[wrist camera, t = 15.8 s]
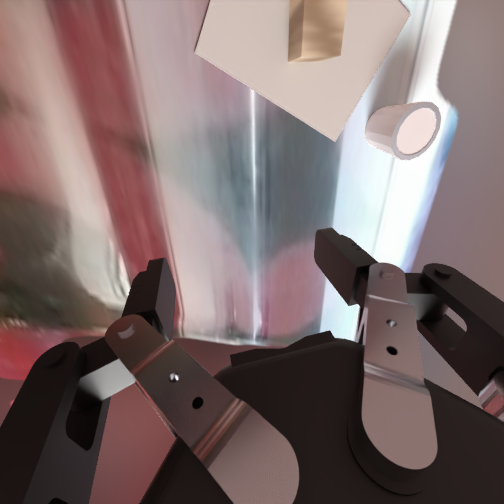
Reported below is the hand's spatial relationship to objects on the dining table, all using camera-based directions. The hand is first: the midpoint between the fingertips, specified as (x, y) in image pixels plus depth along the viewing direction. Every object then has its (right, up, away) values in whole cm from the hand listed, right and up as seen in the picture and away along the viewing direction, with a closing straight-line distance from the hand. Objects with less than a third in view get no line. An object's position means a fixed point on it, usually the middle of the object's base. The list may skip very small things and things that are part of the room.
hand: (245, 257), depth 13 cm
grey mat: (+7, +27, +16) cm, 32 cm away
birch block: (+8, +23, +15) cm, 29 cm away
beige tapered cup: (+20, +20, +24) cm, 37 cm away
